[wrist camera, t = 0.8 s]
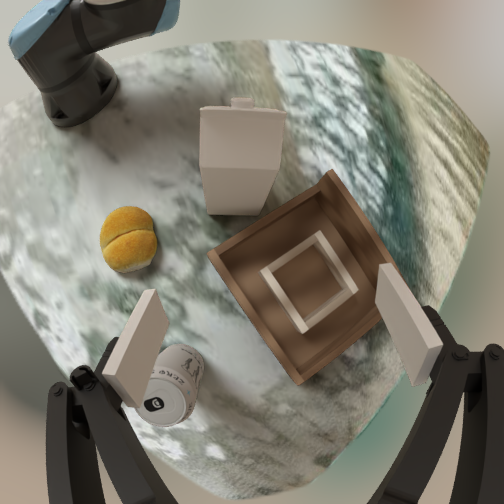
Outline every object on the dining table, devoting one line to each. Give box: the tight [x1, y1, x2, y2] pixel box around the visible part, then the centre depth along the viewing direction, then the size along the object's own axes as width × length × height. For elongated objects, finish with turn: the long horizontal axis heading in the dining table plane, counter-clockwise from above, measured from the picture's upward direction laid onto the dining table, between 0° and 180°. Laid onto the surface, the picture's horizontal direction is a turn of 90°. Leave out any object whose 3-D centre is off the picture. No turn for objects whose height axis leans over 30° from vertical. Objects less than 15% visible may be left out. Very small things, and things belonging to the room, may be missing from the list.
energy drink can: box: [135, 344, 204, 427], centre depth 28 cm, size 6×6×15 cm
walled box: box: [207, 169, 410, 386], centre depth 34 cm, size 20×18×8 cm
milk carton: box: [199, 97, 287, 216], centre depth 30 cm, size 7×7×19 cm
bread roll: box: [100, 206, 157, 273], centre depth 35 cm, size 8×9×4 cm
